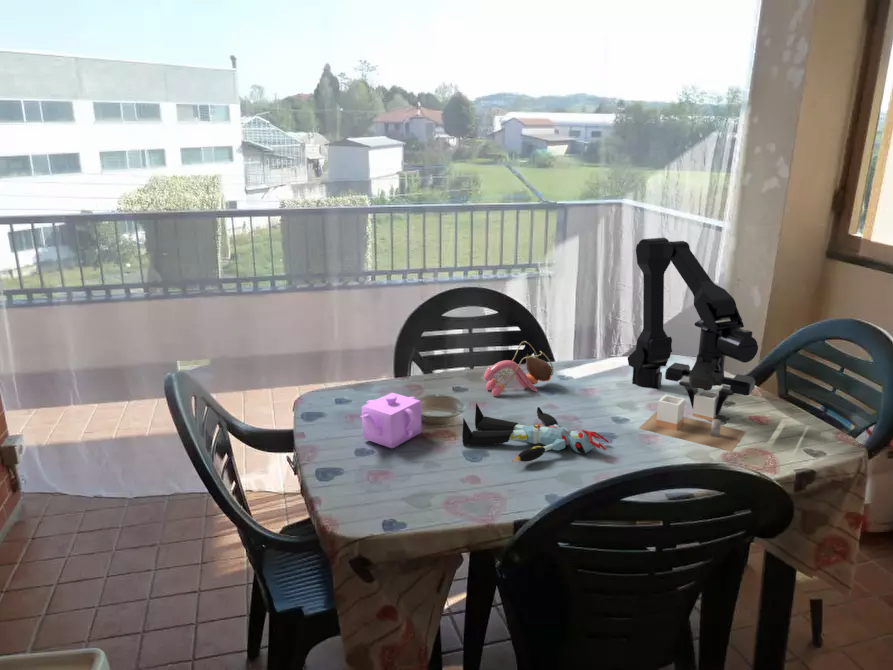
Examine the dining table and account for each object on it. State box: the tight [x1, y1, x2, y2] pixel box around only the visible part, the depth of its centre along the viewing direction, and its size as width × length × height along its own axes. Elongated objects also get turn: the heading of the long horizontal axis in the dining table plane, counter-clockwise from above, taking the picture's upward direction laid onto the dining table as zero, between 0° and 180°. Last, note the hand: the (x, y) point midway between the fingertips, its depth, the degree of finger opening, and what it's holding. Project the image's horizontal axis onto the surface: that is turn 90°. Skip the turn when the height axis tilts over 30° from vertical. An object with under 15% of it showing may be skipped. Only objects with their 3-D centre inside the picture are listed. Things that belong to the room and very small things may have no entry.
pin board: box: [638, 411, 747, 453], centre depth 148 cm, size 20×12×5 cm, turn 53°
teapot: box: [359, 392, 423, 449], centre depth 147 cm, size 18×14×10 cm
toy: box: [461, 402, 609, 463], centre depth 145 cm, size 26×8×30 cm
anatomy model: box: [483, 340, 555, 397], centre depth 175 cm, size 11×15×17 cm
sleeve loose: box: [691, 388, 719, 422], centre depth 156 cm, size 5×5×6 cm
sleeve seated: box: [656, 394, 686, 430], centre depth 151 cm, size 5×5×6 cm
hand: (705, 412), depth 156 cm, fingers open, 5 cm apart
